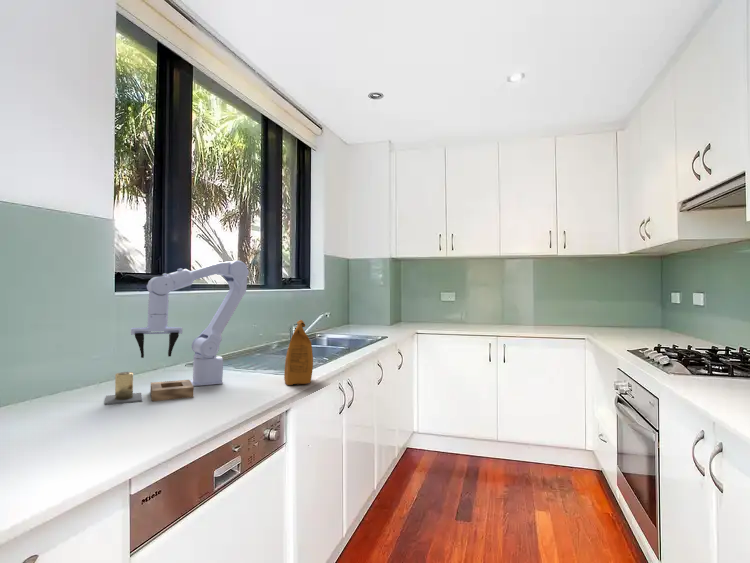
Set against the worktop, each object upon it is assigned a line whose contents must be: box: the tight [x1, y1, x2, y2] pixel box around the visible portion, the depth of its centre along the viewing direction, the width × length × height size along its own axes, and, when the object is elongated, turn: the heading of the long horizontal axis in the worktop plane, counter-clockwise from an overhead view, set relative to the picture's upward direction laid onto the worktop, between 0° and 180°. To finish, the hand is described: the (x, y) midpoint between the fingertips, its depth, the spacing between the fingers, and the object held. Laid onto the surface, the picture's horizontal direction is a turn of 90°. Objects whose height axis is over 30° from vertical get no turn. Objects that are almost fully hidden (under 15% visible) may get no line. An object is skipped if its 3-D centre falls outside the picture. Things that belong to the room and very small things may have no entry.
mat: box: [104, 392, 143, 406], centre depth 121 cm, size 9×9×1 cm
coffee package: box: [283, 319, 314, 386], centre depth 149 cm, size 10×12×22 cm
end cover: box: [114, 371, 134, 400], centre depth 121 cm, size 4×4×7 cm
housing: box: [149, 379, 195, 402], centre depth 127 cm, size 11×11×3 cm
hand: (156, 356), depth 133 cm, fingers open, 7 cm apart
